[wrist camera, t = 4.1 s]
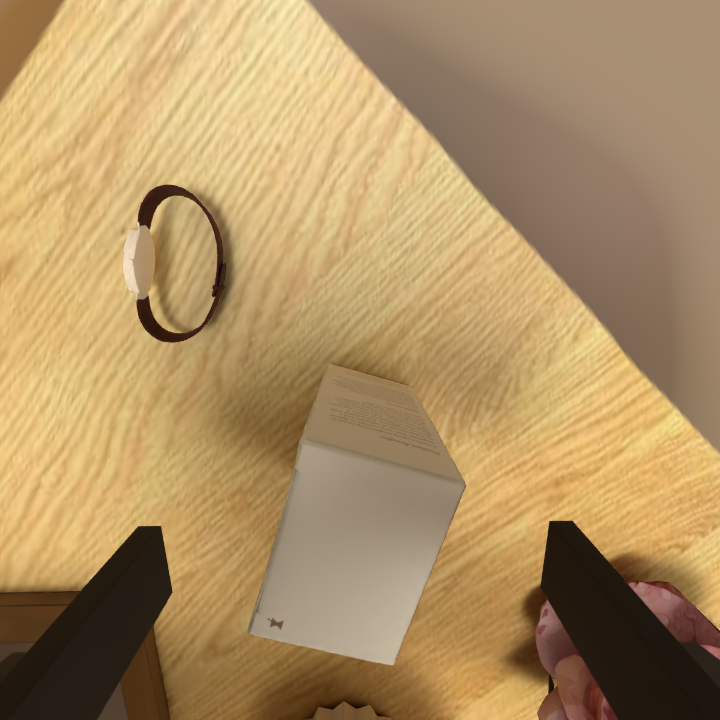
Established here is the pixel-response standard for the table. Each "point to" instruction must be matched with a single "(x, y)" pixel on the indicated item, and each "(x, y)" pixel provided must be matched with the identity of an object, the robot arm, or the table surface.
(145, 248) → the watch
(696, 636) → the flower
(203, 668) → the table surface
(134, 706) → the square wooden frame
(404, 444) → the small box
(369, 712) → the vase
